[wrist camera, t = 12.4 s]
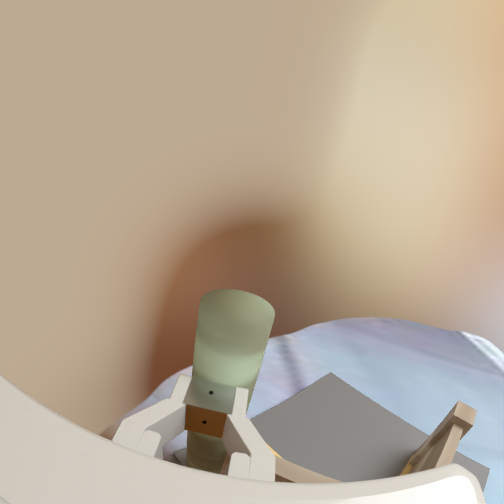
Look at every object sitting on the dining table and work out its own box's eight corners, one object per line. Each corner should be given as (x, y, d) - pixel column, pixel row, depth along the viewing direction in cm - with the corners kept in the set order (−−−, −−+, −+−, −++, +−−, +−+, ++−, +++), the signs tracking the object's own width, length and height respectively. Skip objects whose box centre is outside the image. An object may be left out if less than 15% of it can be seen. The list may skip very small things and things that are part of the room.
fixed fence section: (432, 459, 17) (476, 410, 14) (393, 523, 10) (453, 483, 8) (416, 449, 18) (458, 400, 16) (373, 512, 12) (429, 469, 10)
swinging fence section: (379, 554, 8) (551, 431, 3) (177, 472, 15) (184, 303, 10) (388, 525, 10) (536, 393, 6) (200, 451, 17) (227, 283, 13)
